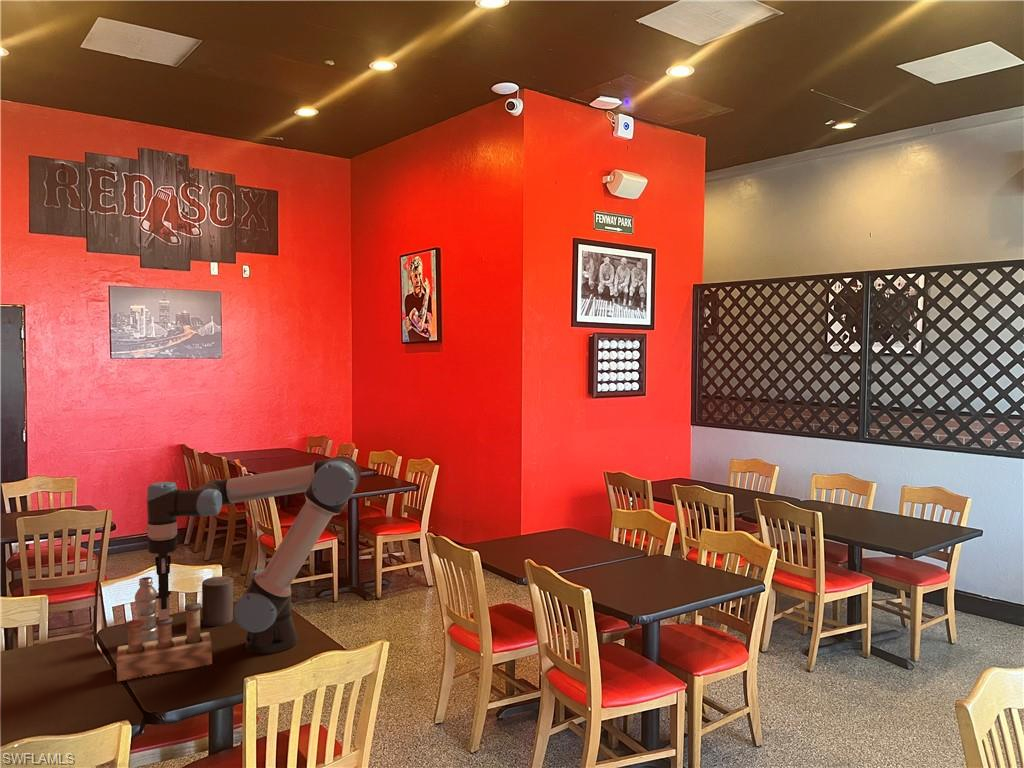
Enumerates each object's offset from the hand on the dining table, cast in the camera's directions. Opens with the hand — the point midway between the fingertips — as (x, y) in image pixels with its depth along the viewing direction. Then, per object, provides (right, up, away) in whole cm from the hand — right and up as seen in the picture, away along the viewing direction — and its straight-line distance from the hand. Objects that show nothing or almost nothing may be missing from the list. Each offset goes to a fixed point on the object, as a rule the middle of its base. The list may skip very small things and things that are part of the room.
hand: (163, 618), depth 207 cm
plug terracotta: (-7, -11, -3) cm, 13 cm away
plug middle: (0, -11, +1) cm, 11 cm away
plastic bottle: (-13, -13, +17) cm, 25 cm away
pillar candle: (+1, -12, +35) cm, 37 cm away
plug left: (+7, -8, +4) cm, 11 cm away
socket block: (0, -14, +1) cm, 14 cm away
